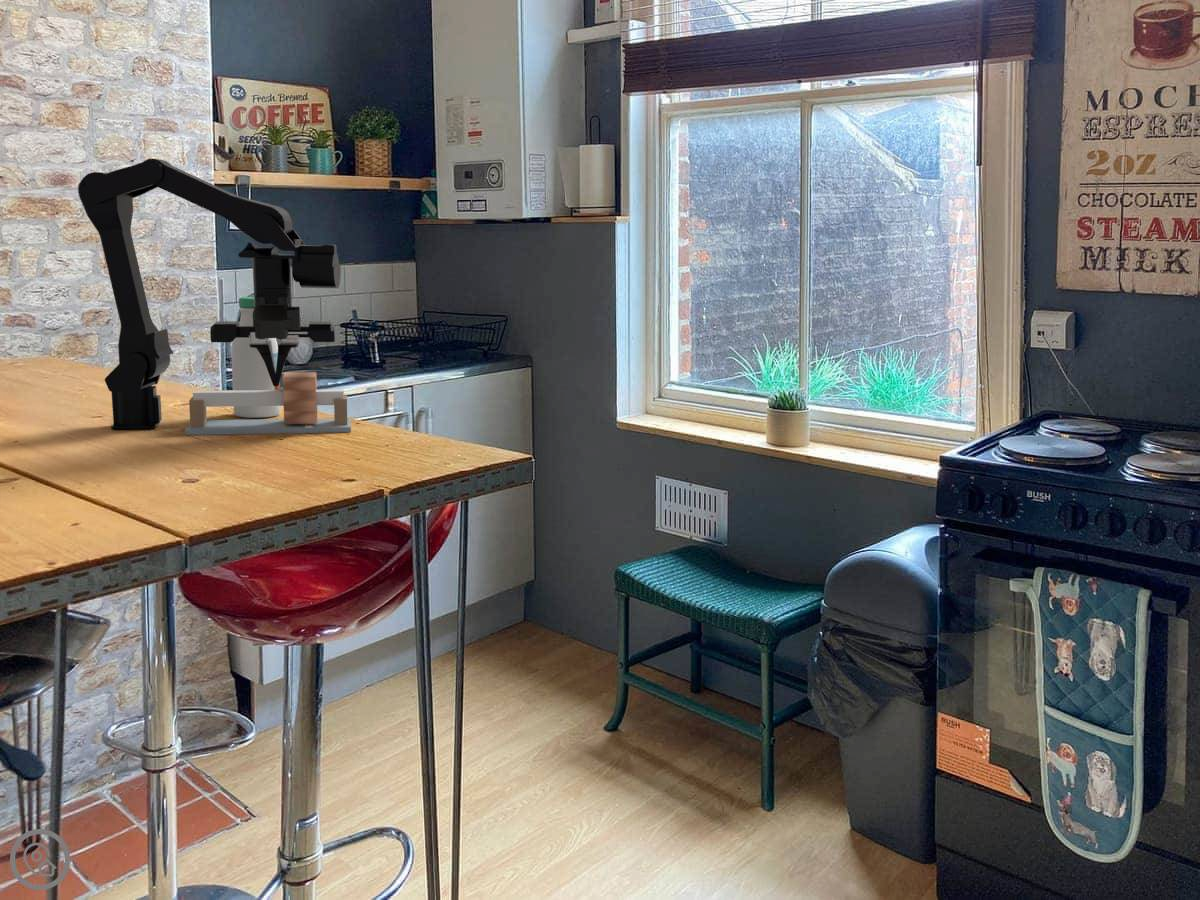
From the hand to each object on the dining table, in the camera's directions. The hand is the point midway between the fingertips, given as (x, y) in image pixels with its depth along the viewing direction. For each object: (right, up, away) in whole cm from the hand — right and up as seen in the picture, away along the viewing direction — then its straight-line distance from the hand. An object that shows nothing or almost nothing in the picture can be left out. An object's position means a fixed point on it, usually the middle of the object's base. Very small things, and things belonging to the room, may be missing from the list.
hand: (276, 386), depth 182 cm
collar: (+3, -5, +2) cm, 7 cm away
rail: (-1, -7, +1) cm, 7 cm away
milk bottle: (-7, -4, +13) cm, 15 cm away
